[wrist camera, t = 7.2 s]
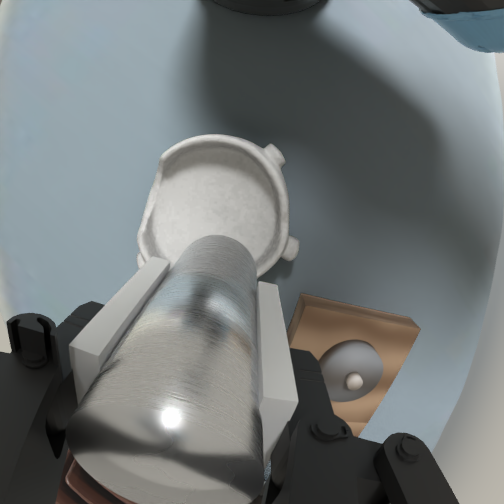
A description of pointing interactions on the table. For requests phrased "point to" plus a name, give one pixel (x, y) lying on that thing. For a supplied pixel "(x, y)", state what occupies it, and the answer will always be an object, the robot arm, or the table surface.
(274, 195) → the dish
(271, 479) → the robot arm
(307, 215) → the table surface
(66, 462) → the letter holder
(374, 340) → the plate
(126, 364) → the pin
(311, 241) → the table surface
